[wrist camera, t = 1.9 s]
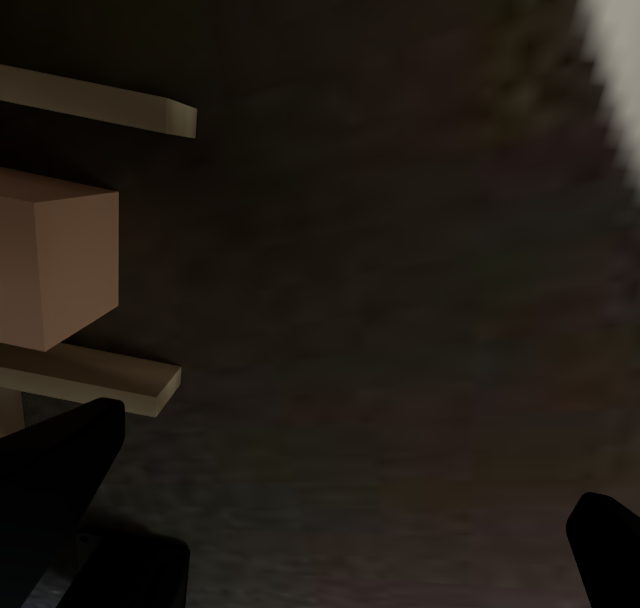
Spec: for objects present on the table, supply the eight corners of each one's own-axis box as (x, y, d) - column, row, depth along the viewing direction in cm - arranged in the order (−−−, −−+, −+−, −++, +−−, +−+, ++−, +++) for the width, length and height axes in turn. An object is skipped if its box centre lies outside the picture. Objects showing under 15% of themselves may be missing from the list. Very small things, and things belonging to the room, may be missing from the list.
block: (119, 304, 17) (44, 351, 13) (-12, 277, 17) (-131, 315, 13) (120, 191, 15) (33, 202, 11) (-27, 160, 15) (-171, 159, 11)
